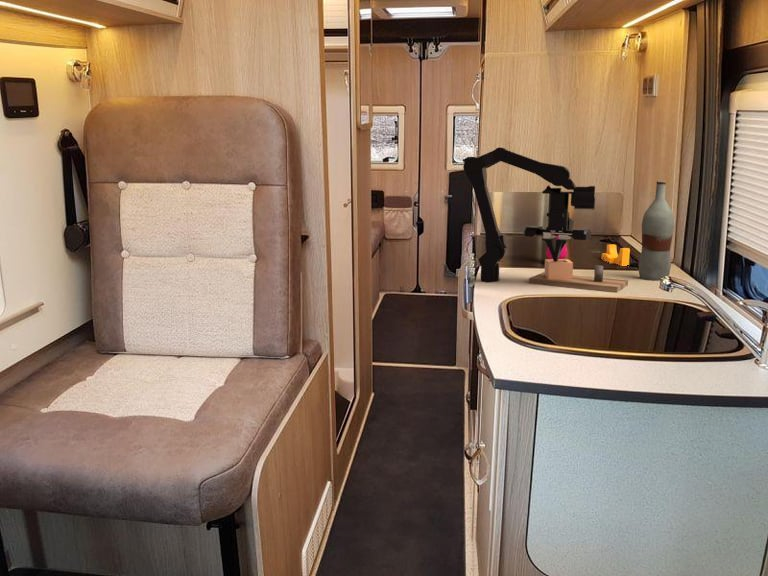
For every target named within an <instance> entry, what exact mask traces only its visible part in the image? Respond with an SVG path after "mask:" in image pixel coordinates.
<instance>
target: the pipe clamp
mask: <svg viewBox="0 0 768 576" xmlns="http://www.w3.org/2000/svg"><path fill="white" fill-rule="evenodd" d="M630 252H631V249H630V248H629V247H622V248H621V247H620V249H619V254H618V252H617V244H612V243H611V244H606V252H604V253H601V259H602V261H603V262H606V261H607V262H606V263H608V262H609V264H615V265H617V264H618V265H617V266H619V265H620V267H621V266H627V265H629V266H630Z"/></svg>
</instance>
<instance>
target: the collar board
mask: <svg viewBox="0 0 768 576" xmlns="http://www.w3.org/2000/svg"><path fill="white" fill-rule="evenodd" d="M544 274H545V271H543V272H541V273H538V274H536V275H533V276H531V277H529V279H528V283H529V284H535V285H536V284H537V285H543V286H544V285H545V286H552V287H553V286H554V287H555V286H556V287H563V288H573V289H581V290H582V289H583V290H591V291H601V292H610V293H611V292H612V293H618V292H620V291H621V290H623V289H624V288H626V287H627V286H628V284H629V280H628V279H620V278H619V279H618V278H610V277H609V278H608V277H607V278H606V277H603V276H604V265H600V264H599V265H598V264H597V265H594V274H593V276H588V275H587V276H586V275H575V274H573V276H572V280H571V279H548V278H547V277H546V276H545V275H544Z"/></svg>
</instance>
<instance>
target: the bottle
mask: <svg viewBox="0 0 768 576" xmlns="http://www.w3.org/2000/svg"><path fill="white" fill-rule="evenodd" d="M655 185H656V186H655V196H654V198H655V199H654V200H653V201H652V203H650V204H649V206H648V208H647V209H646V210H645V211H644V214H643V217H642V221H641V252H640V256H639V260H638V274H639V275H638V276H639V278H640V279H642V280H646V281H662V280H661V278H663V277H665V276H670V273H671V269H672V258H671V256H672V255H671V247H672V242H673V241H672V240H673V236H674V235H673V234H674V230H675V216H674V213H673V210H672V209H671V207H670V205H669V204H668V202H667V200H666V189H667V188H666V185H667V181H666V180H657V181H656V184H655Z"/></svg>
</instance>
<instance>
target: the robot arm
mask: <svg viewBox="0 0 768 576" xmlns="http://www.w3.org/2000/svg"><path fill="white" fill-rule="evenodd" d="M500 162H502V163H504V164H508V165H511V166H513V167H516V168H518V169H522V170H524V171H527V172H529V173H532V174H535V175H536V176H539V177H540V178H542V179H543V180H545V181H546V182H548V183H549V184H551V185H553V186H555V187H551V185H547V186H546V188H545V189H543V190H542V192H541V193H542V194H543V195H544V194H547V195H548V205H547V206H548V207H547V213H546V217H547V224H546V225H547V226H546V227H545V228H544V227H543V226H541V225H540V226H539V225H529V226H526V227H525V228H524V230H523V236H524V237H530V238H534V237H535V236H543V237H542V238H541V241H544V242H545V244H546V246H547V248H549V250H550V253H551V255H552V258H553V260H554V262H557V261H558V259H559V256H560V254H561V251H562V249H563V247H564V245H566V244H567V242H569V241H572V239H574V240H576V241H577V240H579V241H587V240H590V239H592V230H591V229H590V228H582V227H581V228H578V227H577V228H574V229H573V227H574V220H573V219H572V218H571V217H570V212H569V201H570V206H571V207H574V208H573V209H574V210H581V211H582V210H583V211H585V210H587V211H591V210H592V211H593V210H595V209H596V208H595V206H596V196H595V195H596V186H595V185H589V186H576V183H575V182H574V181H573V180H572V179H571V172H570V169H569V168H568V167H566V166H564V165H559V164H552V163H547V162H543V161H542V162H541V161H538V160H536V159H533V158H531V157H528V156H525V155H522V154H519V153H516V152H515V151H511V150H508V149H507V148H505V147H496V148H495V149H494V150H491V151H489V152H487V153H485V154H482V155H481V156H473V157H471V156H470V157H468V158H467V159H466V160H465V161H464V162H463V172H464V174H465V176H466V178H467V180H468V182H469V183H470V185H471V187H472V189H473V192H474V195H475V199H476V202H477V206H478V210H479V214H480V219H481V221H482V225H483V228H484V240H485V241H484V245H485V252H484V254H482V255H481V256H480V257H479V258H478V262H479V265H480V282H484V283H497V282H499V281H500V262H501V260H502V259H503V258H504V257H505V256H506V255H507V254H508V252H509V251H508V250H509V246H510V243H509V242H508V238H507V233H506V232H504V233H502V232H501V230H500V228H499V226H498V223H497V222H498V221H497V218H496V214H495V211H494V206H493V204H492V200H491V196H490V192H489V188H488V183H487V182H488V173H487V169H488V168H490V167H493V166H495V165H497V164H498V163H500ZM561 187H563V188H564V189H566V190H568V191H563V190H562V188H561ZM571 190H572V191H571ZM569 199H570V200H569ZM559 231H562V232H559ZM555 236H559V239H557V238H558V237H555Z"/></svg>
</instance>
